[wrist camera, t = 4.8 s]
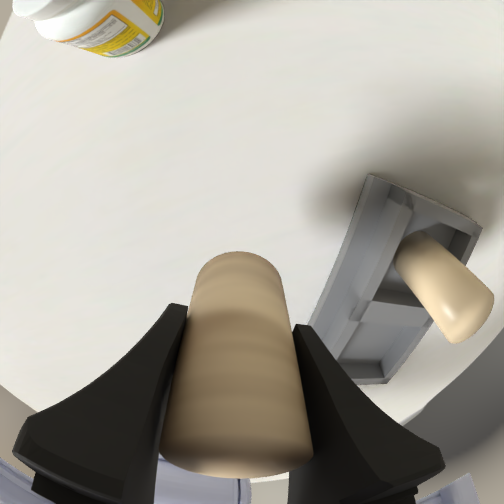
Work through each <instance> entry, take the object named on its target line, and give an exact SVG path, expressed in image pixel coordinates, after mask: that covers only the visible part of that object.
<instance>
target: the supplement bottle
mask: <svg viewBox="0 0 504 504" xmlns="http://www.w3.org/2000/svg"><path fill="white" fill-rule="evenodd" d="M13 11H14V12H15V14H16V15H18V16H20V17H23V18H27V19H30V20H32V21H35V25H36V28H37V30H38V32H39V33H40V34H41V35H42V36H43V37H45V38H47V39H50V40H53V41H57V42H60V43H64V44H68V45H71V46H74V47H78V48H81V49H84V50H87V51H90V52H93V53H96V54H99V55H102V56H105V57H108V58H122V57H126V56H129V55H132V54H134V53H136V52H138V51H140V50H141V49H143V48H144V47H146V46H147V45H148V44H149V43H150V42H151V41H152V40H153V39H154V38H155V37H156V35H157V34H158V33H159V31H160V29H161V27H162V24H163V21H164V8H163V5H162V3H161V1H160V0H13Z"/></svg>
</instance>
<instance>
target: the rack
mask: <svg viewBox="0 0 504 504" xmlns="http://www.w3.org/2000/svg"><path fill="white" fill-rule="evenodd" d="M482 229H483V228H482V227H481V226H480V225H478V224H477V222H475V221H474V220H472V219H471V218H469V217H467V216H465V215H463V214H461V213H459V212H457V211H455V210H453V209H451V208H449V207H447V206H445V205H443V204H440V203H438V202H436V201H434V200H432V199H430V198H427V197H425V196H423V195H421V194H418V193H416V192H414V191H411V190H409V189H407V188H404V187H402V186H399V185H397V184H394V183H392V182H389V181H387V180H384V179H382V178H379V177H376V176H374V175H371V174H368V175H367V178H366V181H365V184H364V187H363V190H362V193H361V196H360V198H359V201H358V204H357V207H356V210H355V213H354V215H353V218H352V221H351V223H350V226H349V229H348V231H347V234H346V237H345V239H344V242H343V244H342V247H341V249H340V252H339V254H338V257H337V259H336V262H335V264H334V267H333V269H332V271H331V274H330V276H329V278H328V281H327V283H326V285H325V288H324V290H323V292H322V294H321V297H320V299H319V301H318V303H317V306H316V308H315V310H314V312H313V314H312V316H311V319H310V321H309V323H308V325H309V326H311V327H312V328H313V329H314V330H315V332H316V333H317V335H318V336H319V337H320V339H321V340H322V342H323V343H324V344H325V346H326V347H327V349H328V350H329V351H330V353H331V354H332V355H333V357H334V358H335V359H336V361H337V362H338V363H339V365H340V366H341V367H342V369H343V370H344V371H345V372H346V373H347V375H348V376H349V377H350V378H351V379H352V381H353V382H354V383H355V384H356V385H367V384H387V383H388V382H389V380H390V379H391V378H392V377H393V376H394V374H395V373H396V372H397V371H398V369H399V368H400V367H401V366H402V364H403V363H404V362H405V361H406V359H407V358H408V357H409V355H410V354H411V353H412V351H413V350H414V349H415V347H416V346H417V345H418V343H419V342H420V340H421V339H422V338H423V336H424V335H425V333H426V332H427V330H428V329H429V327H430V326H431V324H432V323H433V321H435V323H436V324H437V325H438V327H439V328H440V330H441V331H442V333H443V334H444V336H445V337H446V338H447V340H448V341H449V342H450V343H452V344H457V343H460V342H463V341H465V340H467V339H468V338H470V337H471V336H472V335H473V334H475V333H476V332H477V331H478V330H479V329H480V328H481V326H482V325H483V324H484V323H485V321H486V320H487V318H488V316H489V315H490V313H491V310H492V308H493V304H494V295H493V293H492V292H491V291H490V289H489V288H488V287H487V286H486V285H485V284H484V283H483V282H482V281H480V280H479V279H478V278H477V277H476V276H475V275H474V274H473V273H472V272H471V271H470V270H469V269H468V268H467V267H466V264H467V262H468V260H469V258H470V256H471V253H472V251H473V249H474V247H475V245H476V243H477V240H478V238H479V236H480V233H481V231H482Z"/></svg>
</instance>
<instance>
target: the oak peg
mask: <svg viewBox="0 0 504 504" xmlns="http://www.w3.org/2000/svg"><path fill="white" fill-rule="evenodd" d="M159 453H160V455H161V456H162V457H163V458H164V459H165V460H167V461H168V462H169V463H171V464H173V465H175V466H177V467H179V468H182V469H184V470H187V471H190V472H194V473H198V474H202V475H207V476H213V477H221V478H238V479H243V478H260V477H267V476H273V475H278V474H282V473H286V472H289V471H292V470H294V469H297V468H299V467H301V466H303V465H304V464H306V463H307V462H309V461H310V460H311V458H312V457H313V454H314V453H313V447H312V441H311V435H310V429H309V423H308V417H307V411H306V405H305V400H304V394H303V389H302V383H301V378H300V372H299V367H298V362H297V356H296V351H295V346H294V341H293V335H292V330H291V325H290V320H289V315H288V310H287V305H286V300H285V295H284V290H283V286H282V281H281V277H280V275H279V273H278V271H277V270H276V268H275V267H274V266H273V265H272V264H271V263H270V262H269V261H267V260H266V259H264V258H263V257H261V256H258V255H256V254H253V253H249V252H238V251H236V252H228V253H224V254H221V255H218V256H216V257H214V258H213V259H211V260H210V261H208V262H207V263H206V264H205V265H204V266H203V267H202V269H201V270H200V272H199V274H198V276H197V279H196V283H195V287H194V291H193V295H192V298H191V302H190V306H189V310H188V314H187V319H186V323H185V328H184V332H183V336H182V340H181V343H180V347H179V351H178V356H177V360H176V364H175V369H174V373H173V378H172V383H171V387H170V392H169V397H168V402H167V407H166V412H165V417H164V422H163V427H162V433H161V438H160V444H159Z"/></svg>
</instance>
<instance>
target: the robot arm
mask: <svg viewBox="0 0 504 504" xmlns="http://www.w3.org/2000/svg"><path fill="white" fill-rule="evenodd" d="M187 311H188V306H185V305H180V304H175V303H171V304H169V305H168V306H167V308H166V309H165V311H164V312H163V314H162V315H161V316H160V318H159V319H158V320H157V321H156V322H155V324H154V325H153V326H152V327H151V328H150V330H149V331H148V332H147V333H146V334H145V335H144V336H143V337H142V339H141V340H140V341H139V342H138V343H137V344H136V345H135V346H134V347H133V348H132V349H131V350H130V351H129V352H128V353H127V354H126V355H125V356H124V357H122V358H121V359H120V360H119V361H118V362H117V363H116V364H115V365H113V366H112V367H111V368H110V369H109V370H107V371H106V372H105V373H104V374H102V375H101V376H100V377H98V378H97V379H96V380H94V381H93V382H91V383H90V384H89V385H87V386H86V387H84V388H83V389H81V390H80V391H78V392H76V393H75V394H73V395H71V396H69V397H68V398H66V399H64V400H63V401H61V402H59V403H57V404H55V405H53V406H51V407H49V408H47V409H45V410H43V411H40V412H38V413H36V414H34V415H31V416H29V417H28V418H27V420H26V421H25V423H24V424H23V426H22V428H21V430H20V432H19V434H18V437H17V439H16V442H15V445H14V447H13V450H12V452H13V455H14V456H15V457H16V458H18V459H19V460H20V461H22V462H23V463H24V464H25V465H27V466H28V467H29V468H31V469H32V470H34V471H35V472H36V473H35V476H34V479H33V478H31V477H29V476H27V475H26V474H24V473H23V472H21V471H19V470H18V469H16V468H15V467H13V466H12V465H10V464H9V463H7V462H6V461H5V460H3V459H1V458H0V504H251V483H250V479H249V478H243V479H238V478H221V477H213V476H207V475H202V474H198V473H194V472H190V471H187V470H184V469H182V468H179V467H177V466H175V465H173V464H171V463H169V462H168V461H167V460H165V459H164V458H163V457H162V456H161V455H160V453H159V444H160V438H161V433H162V427H163V422H164V417H165V412H166V407H167V402H168V397H169V392H170V387H171V383H172V378H173V373H174V369H175V364H176V360H177V356H178V351H179V347H180V343H181V340H182V336H183V332H184V328H185V323H186V319H187ZM292 335H293V341H294V346H295V351H296V356H297V362H298V367H299V372H300V378H301V383H302V389H303V394H304V400H305V405H306V411H307V417H308V423H309V429H310V435H311V441H312V447H313V453H314V454H313V457H312V458H311V460H310V461H309V462H307V463H306V464H304V465H303V466H301V467H299V468H297V469H294V470H292V471H289V489H288V490H289V491H288V503H287V504H480V502H479V499H478V496H477V492H476V489H475V486H474V483H473V480H472V477H471V475H470V473H467V474H466V475H464V476H462V477H461V478H459V479H457V480H455V481H453V482H452V483H450V484H448V485H446V486H445V487H443V488H441V489H440V490H438V491H436V492H434V493H432V494H430V495H427V496H425V497H423V498H421V499H419V500H416V501H415V498H414V495H415V494H417V493H418V488H417V486H418V485H419V484H421V483H423V482H425V481H427V480H428V479H430V478H432V477H434V476H435V475H437V474H438V473H440V472H441V471H442V470H444V469H445V463H444V460H443V457H442V454H441V452H440V449H439V448H438V447H437V446H435V445H433V444H431V443H429V442H427V441H425V440H423V439H421V438H420V437H418V436H416V435H415V434H413V433H412V432H410V431H409V430H407V429H405V428H404V427H403V426H401V425H400V424H398V423H397V422H396V421H394V420H393V419H392V418H391V417H389V416H388V415H387V414H386V413H385V412H383V411H382V410H381V409H380V408H379V407H378V406H376V405H375V404H374V403H373V402H372V401H371V400H370V399H369V398H368V397H367V396H366V395H365V394H364V393H363V392H362V391H361V390H360V389H359V387H358V386H357V385H356V384H355V383H354V382H353V381H352V379H351V378H350V377H349V376H348V375H347V373H346V372H345V371H344V370H343V369H342V367H341V366H340V365H339V363H338V362H337V361H336V359H335V358H334V357H333V355H332V354H331V353H330V351H329V350H328V349H327V347H326V346H325V344H324V343H323V342H322V340H321V339H320V337H319V336H318V335H317V333H316V332H315V330H314V329H313V328H312V327H311V326H309V325H301V324H296V325H295V327H294V330H293V332H292Z"/></svg>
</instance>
